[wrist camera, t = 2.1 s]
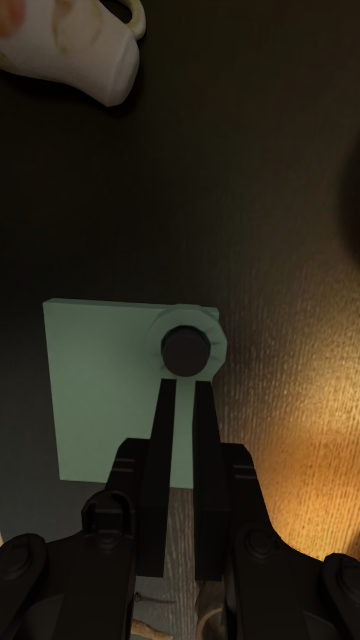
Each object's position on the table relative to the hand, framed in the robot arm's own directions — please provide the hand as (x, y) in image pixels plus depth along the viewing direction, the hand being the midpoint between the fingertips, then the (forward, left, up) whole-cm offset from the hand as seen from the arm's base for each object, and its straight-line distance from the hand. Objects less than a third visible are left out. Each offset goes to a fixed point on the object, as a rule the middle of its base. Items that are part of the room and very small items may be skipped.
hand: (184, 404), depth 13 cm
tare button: (0, 0, -7) cm, 7 cm away
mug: (-20, -8, -11) cm, 24 cm away
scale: (+6, -4, -10) cm, 13 cm away
